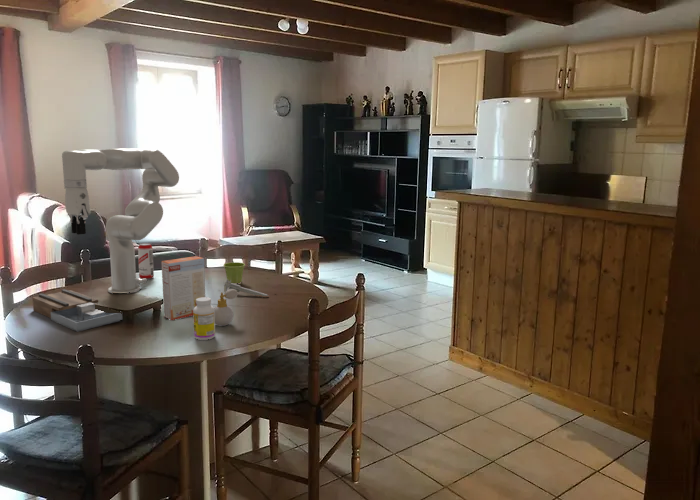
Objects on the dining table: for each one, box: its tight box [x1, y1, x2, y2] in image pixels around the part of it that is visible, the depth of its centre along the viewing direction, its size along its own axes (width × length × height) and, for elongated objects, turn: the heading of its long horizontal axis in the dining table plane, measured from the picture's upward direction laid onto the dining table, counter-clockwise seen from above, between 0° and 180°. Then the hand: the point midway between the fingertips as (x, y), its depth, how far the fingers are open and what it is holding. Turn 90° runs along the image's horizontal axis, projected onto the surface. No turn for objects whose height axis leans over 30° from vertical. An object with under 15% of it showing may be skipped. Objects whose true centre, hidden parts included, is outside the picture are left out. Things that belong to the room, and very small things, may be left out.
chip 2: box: [84, 309, 106, 321], centre depth 192 cm, size 5×5×3 cm
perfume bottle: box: [214, 288, 239, 327], centre depth 193 cm, size 8×10×12 cm
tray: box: [50, 307, 123, 333], centre depth 194 cm, size 16×18×3 cm
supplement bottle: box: [192, 296, 216, 341], centre depth 179 cm, size 7×7×13 cm
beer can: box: [137, 242, 155, 281], centre depth 253 cm, size 6×6×16 cm
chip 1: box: [77, 302, 96, 321], centre depth 194 cm, size 5×5×3 cm
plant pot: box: [222, 261, 246, 284], centre depth 249 cm, size 9×9×9 cm
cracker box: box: [161, 255, 207, 321], centre depth 200 cm, size 14×6×21 cm, turn 135°
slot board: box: [31, 288, 99, 319], centre depth 202 cm, size 14×20×6 cm
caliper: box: [223, 279, 269, 296], centre depth 230 cm, size 20×1×6 cm, turn 75°
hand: (78, 233), depth 210 cm, fingers open, 2 cm apart
